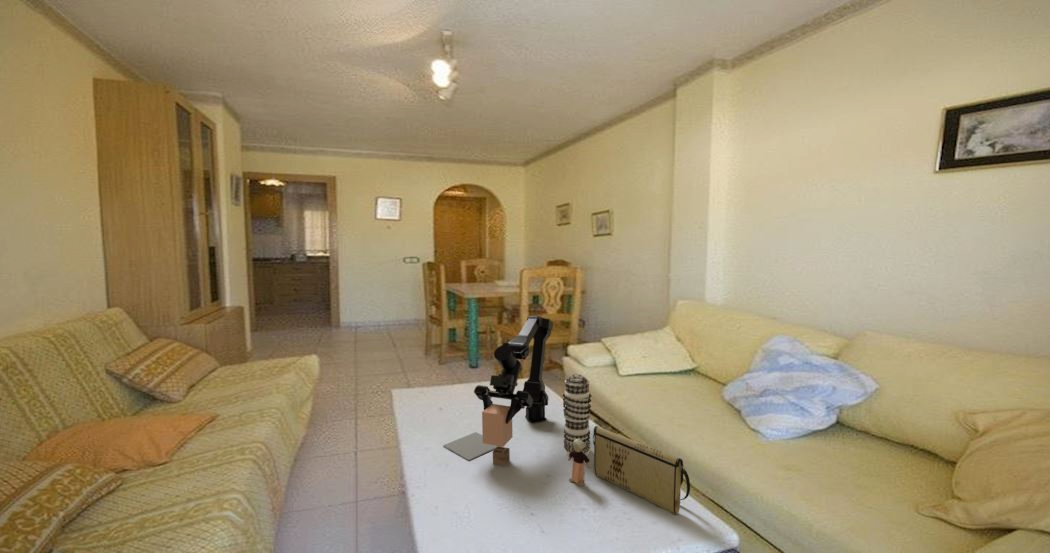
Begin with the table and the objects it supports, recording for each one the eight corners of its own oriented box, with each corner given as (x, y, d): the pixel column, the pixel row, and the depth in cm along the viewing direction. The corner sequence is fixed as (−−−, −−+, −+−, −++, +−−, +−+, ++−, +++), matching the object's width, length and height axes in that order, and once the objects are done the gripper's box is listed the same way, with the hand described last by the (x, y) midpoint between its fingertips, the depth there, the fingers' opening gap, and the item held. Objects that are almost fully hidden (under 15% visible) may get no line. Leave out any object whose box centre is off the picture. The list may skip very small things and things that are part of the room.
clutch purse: (694, 509, 113) (696, 453, 112) (681, 521, 109) (682, 462, 107) (602, 465, 135) (602, 418, 134) (587, 474, 131) (587, 425, 129)
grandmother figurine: (563, 482, 126) (563, 439, 125) (568, 475, 130) (568, 434, 128) (589, 489, 123) (589, 445, 121) (593, 482, 126) (594, 439, 125)
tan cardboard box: (492, 433, 143) (492, 403, 142) (512, 437, 140) (512, 406, 139) (482, 443, 136) (482, 411, 135) (503, 446, 133) (502, 415, 132)
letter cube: (498, 458, 140) (497, 446, 140) (509, 460, 139) (509, 448, 139) (492, 464, 137) (492, 451, 136) (504, 466, 135) (504, 453, 135)
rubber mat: (475, 433, 158) (475, 432, 158) (501, 445, 148) (501, 444, 148) (443, 446, 148) (443, 445, 148) (468, 461, 139) (468, 459, 138)
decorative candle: (590, 459, 139) (590, 382, 137) (561, 456, 141) (561, 380, 138) (591, 446, 148) (592, 373, 146) (564, 443, 150) (564, 371, 147)
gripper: (475, 361, 143) (459, 406, 134) (529, 366, 136) (515, 415, 127) (487, 377, 151) (472, 421, 142) (538, 383, 144) (526, 430, 135)
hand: (495, 421), depth 136 cm, fingers closed on tan cardboard box, 7 cm apart
